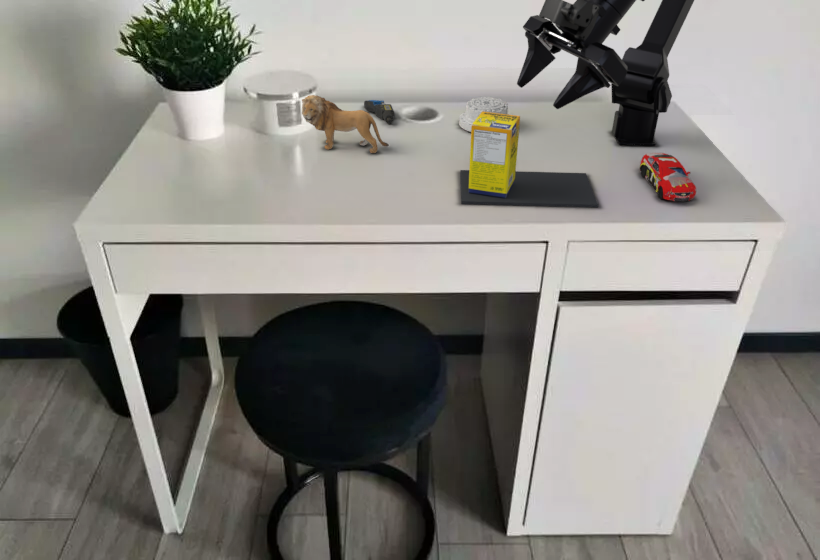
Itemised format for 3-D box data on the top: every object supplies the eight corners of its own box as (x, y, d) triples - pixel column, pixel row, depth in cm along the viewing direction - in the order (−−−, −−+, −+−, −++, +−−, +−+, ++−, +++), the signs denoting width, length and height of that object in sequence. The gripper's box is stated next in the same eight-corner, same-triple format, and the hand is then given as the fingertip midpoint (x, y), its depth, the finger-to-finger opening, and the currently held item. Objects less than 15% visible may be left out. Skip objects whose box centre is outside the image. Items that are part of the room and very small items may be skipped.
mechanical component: (459, 135, 127) (515, 136, 127) (461, 111, 125) (517, 112, 125) (457, 115, 136) (510, 116, 135) (458, 93, 133) (512, 93, 133)
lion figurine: (301, 151, 121) (297, 100, 116) (307, 140, 125) (303, 89, 120) (387, 154, 120) (386, 103, 115) (390, 142, 124) (389, 92, 119)
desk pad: (585, 175, 113) (586, 173, 113) (597, 207, 104) (598, 204, 104) (460, 172, 114) (460, 169, 114) (461, 204, 105) (461, 201, 105)
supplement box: (514, 183, 110) (521, 114, 104) (506, 199, 105) (512, 129, 99) (477, 177, 111) (481, 110, 105) (467, 193, 107) (471, 123, 101)
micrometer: (363, 97, 139) (388, 96, 140) (363, 106, 140) (388, 105, 141) (369, 117, 129) (397, 116, 130) (370, 127, 130) (397, 126, 131)
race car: (698, 205, 105) (705, 181, 103) (662, 206, 105) (668, 181, 103) (668, 168, 116) (673, 145, 114) (635, 168, 116) (639, 145, 114)
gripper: (538, -42, 104) (471, 47, 107) (623, -12, 91) (545, 88, 93) (575, 4, 111) (512, 86, 114) (659, 38, 98) (586, 130, 101)
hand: (536, 96), depth 106 cm, fingers open, 9 cm apart
